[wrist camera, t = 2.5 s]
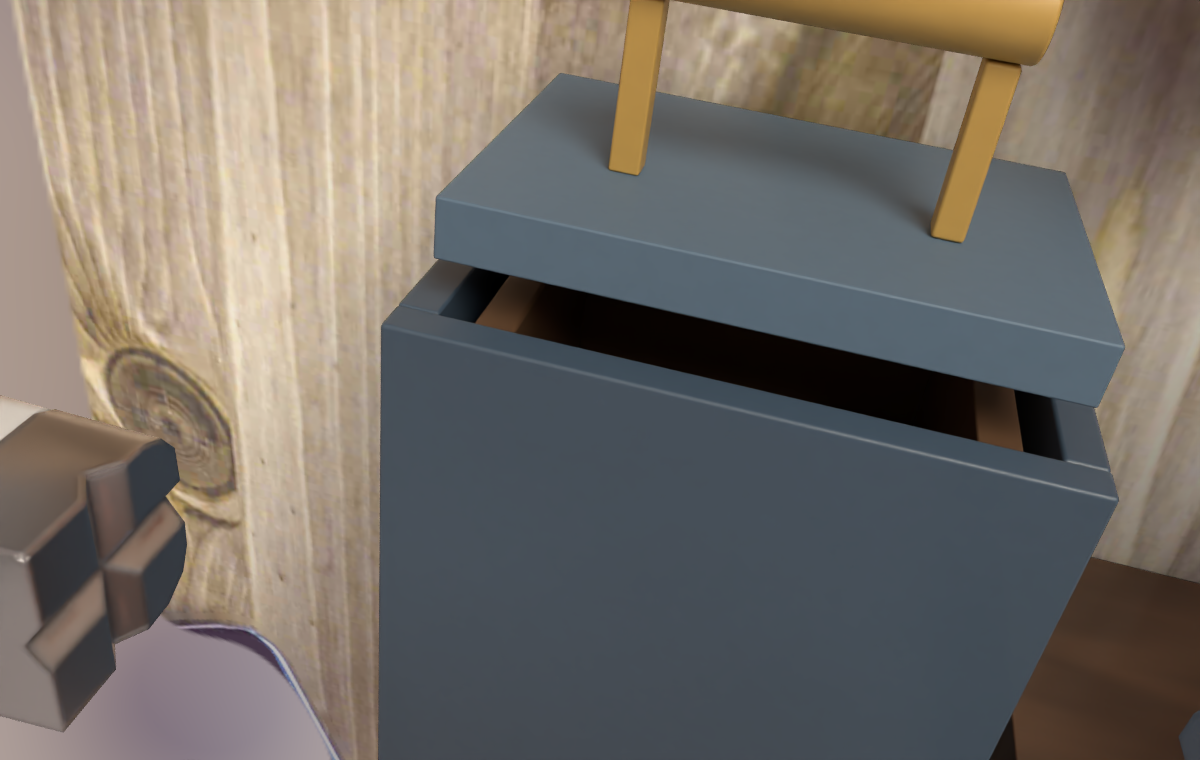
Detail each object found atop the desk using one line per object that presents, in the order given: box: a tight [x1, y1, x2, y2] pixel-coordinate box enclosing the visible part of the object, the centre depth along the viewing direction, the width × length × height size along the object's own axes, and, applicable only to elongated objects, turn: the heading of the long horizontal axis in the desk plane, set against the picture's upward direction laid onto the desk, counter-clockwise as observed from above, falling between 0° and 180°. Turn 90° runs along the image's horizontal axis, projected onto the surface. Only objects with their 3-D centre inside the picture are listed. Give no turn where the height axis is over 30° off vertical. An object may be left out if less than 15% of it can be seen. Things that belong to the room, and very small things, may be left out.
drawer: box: [434, 0, 1125, 452], centre depth 23 cm, size 18×11×8 cm, turn 173°
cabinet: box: [378, 259, 1119, 760], centre depth 26 cm, size 15×13×10 cm
